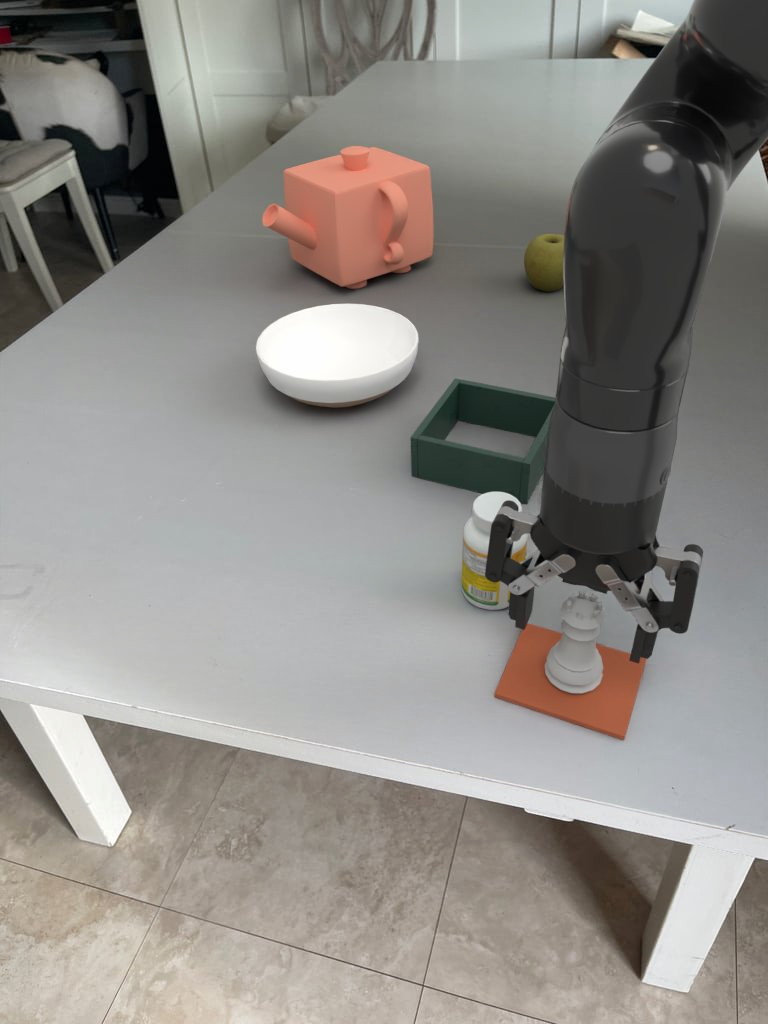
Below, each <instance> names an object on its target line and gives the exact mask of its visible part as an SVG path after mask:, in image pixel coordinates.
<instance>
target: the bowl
mask: <svg viewBox="0 0 768 1024" xmlns="http://www.w3.org/2000/svg"><path fill="white" fill-rule="evenodd" d="M419 340H420V339H419V332H418V330H417V328H416V326H415V325H414V323H412V321H410V320H409V319H408V318H407V317H405V316H404V315H402V314H400V313H398V312H396V311H393V310H391V309H388V308H384V307H380V306H376V305H371V304H364V303H332V304H323V305H316V306H312V307H308V308H303V309H300V310H297V311H295V312H291V313H289V314H287V315H284V316H282V317H280V318H278V319H277V320H275V321H273V322H272V323H270V324H269V325H268V326H267V327H266V328H265V329H263V330H262V332H261V333H260V335H259V336H258V338H257V339H256V343H255V353H256V356H257V360H258V363H259V366H260V369H261V370H262V372H263V373H264V375H265V377H266V378H267V380H268V382H269V384H270V385H271V386H273V387H274V388H275V389H276V390H277V391H278V392H281V393H283V394H284V395H286V396H288V397H289V398H292V399H293V400H296V401H297V402H301V403H303V404H306V405H311V406H318V407H325V408H349V407H354V406H358V405H363V404H365V403H368V402H371V401H373V400H376V399H379V398H381V397H383V396H385V395H387V394H388V393H389V392H390V391H392V390H393V389H395V387H397V386H399V385H400V384H401V383H402V382H403V381H405V380H406V378H407V377H408V376H409V374H410V373H411V371H412V369H413V367H414V364H415V361H416V358H417V355H418V351H419Z"/></svg>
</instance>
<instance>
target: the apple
mask: <svg viewBox="0 0 768 1024" xmlns="http://www.w3.org/2000/svg"><path fill="white" fill-rule="evenodd" d="M563 252H564V234H559V233H558V234H556V233H544V234H540V235H537V236H535V237H534V238H532V239H531V240H530V242H529V243H528V245H527V247H526V248H525V252H524V256H523V265H524V266H523V267H524V271H525V274H526V277H527V280H528V282H529V283H530V284H531V285H532V287H534V288H535V289H537V290H539V291H542V292H546V293H547V292H556V291H559V290H560V289H562V288H564V280H563Z"/></svg>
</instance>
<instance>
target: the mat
mask: <svg viewBox="0 0 768 1024" xmlns="http://www.w3.org/2000/svg"><path fill="white" fill-rule="evenodd" d="M562 634H563V632H558V631H555V630H551V629H548V628H545V627H542V626H539V625H535V624H532V623H529V622H528V623H527V626H526V628H525V630H523V629H521V631H520V634H519V636H518V639H517V640H516V642H515V643H516V644H515V646H514V648H513V650H512V652H511V655H510V657H509V658H508V662H507V664H506V666H505V668H504V670H503V672H502V675H501V677H500V680H499V682H498V684H497V687H496V689H495V691H494V694H493V695H494V696H493V697H494V698H497V699H499V700H502V701H505V702H509V703H510V704H514V705H516V706H520V707H523V708H526V709H529V710H532V711H535V712H538V713H541V714H544V715H547V716H550V717H553V718H557V719H559V720H562V721H565V722H568V723H571V724H574V725H577V726H580V727H583V728H586V729H589V730H592V731H595V732H598V733H601V734H603V735H607V736H610V737H612V738H616V739H619V740H622V741H624V740H625V739H626V736H627V731H628V729H629V724H630V721H631V716H632V713H633V709H634V706H635V702H636V698H637V694H638V691H639V689H640V688H639V687H640V684H641V681H642V677H643V673H644V670H645V666H646V662H647V659H646V658H642V657H641V658H640V662H639V664H638V663H635V662H632V661H629V660H630V655H631V652H626V651H623V650H621V649H620V650H619V649H616V648H612V647H610V646H606V645H602V644H599V643H596V648H597V650H598V653H599V654H600V656H601V658H602V663H603V671H602V674H603V676H602V679H601V682H600V684H599V685H598V686H597V687H596V688H595V689H593V690H591V691H588V692H585V693H582V694H571V693H568V692H565V691H562V690H560V689H559V688H558V687H556V686H555V685H554V684H552V683H551V682H550V680H549V679H548V677H547V675H546V673H545V663H546V661H547V656H548V654H549V651H550V650H551V648H552V647H553V646H555V645H556V643H558V642H559V641H560V640H561V637H562Z"/></svg>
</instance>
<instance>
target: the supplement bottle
mask: <svg viewBox="0 0 768 1024" xmlns="http://www.w3.org/2000/svg"><path fill="white" fill-rule="evenodd" d="M507 500H510V501H513V502H515V503H516V504H517V505H518V507H519V510H518V511H519V512H522V513H523V507H522V503H520V502H519V500H518V499H517V498H515V497H514V496H512V495H510V494H508V493H504V492H488V493H484V494H483V493H481V494H480V495H479V496H477V497H476V498H475V499H474V501H473V503H472V508H471V510H472V511H471V517H469V519H468V520H467V521H466V523H465V524H464V527H463V531H462V553H461V554H462V556H461V578H460V579H461V580H460V583H461V585H460V587H461V591H462V595H463V596H464V598H465V599H466V600H467V601H468V603H470V604H472V605H473V606H474V607H477V608H480V609H483V610H489V611H497V610H502V609H506V608H509V599H510V591H509V589H508V586H507V585H506V584H504V583H503V582H501V581H499V582H491V581H489V580H488V579H487V578H486V577H485V570H486V562H487V554H488V547H489V539H490V532H491V525H492V522H493V521H494V519H495V517H496V515H497V513H498V511H499V509H500V508H501V506H502V504H503V502H505V501H507ZM527 544H528V534H523V535H522V536H521V538H520V540H518V541H514V542H513V548H512V554H511V559H513V560H515V561H516V562H518V563H520V562H521V561H523V560H524V559H526V553H527Z"/></svg>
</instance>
